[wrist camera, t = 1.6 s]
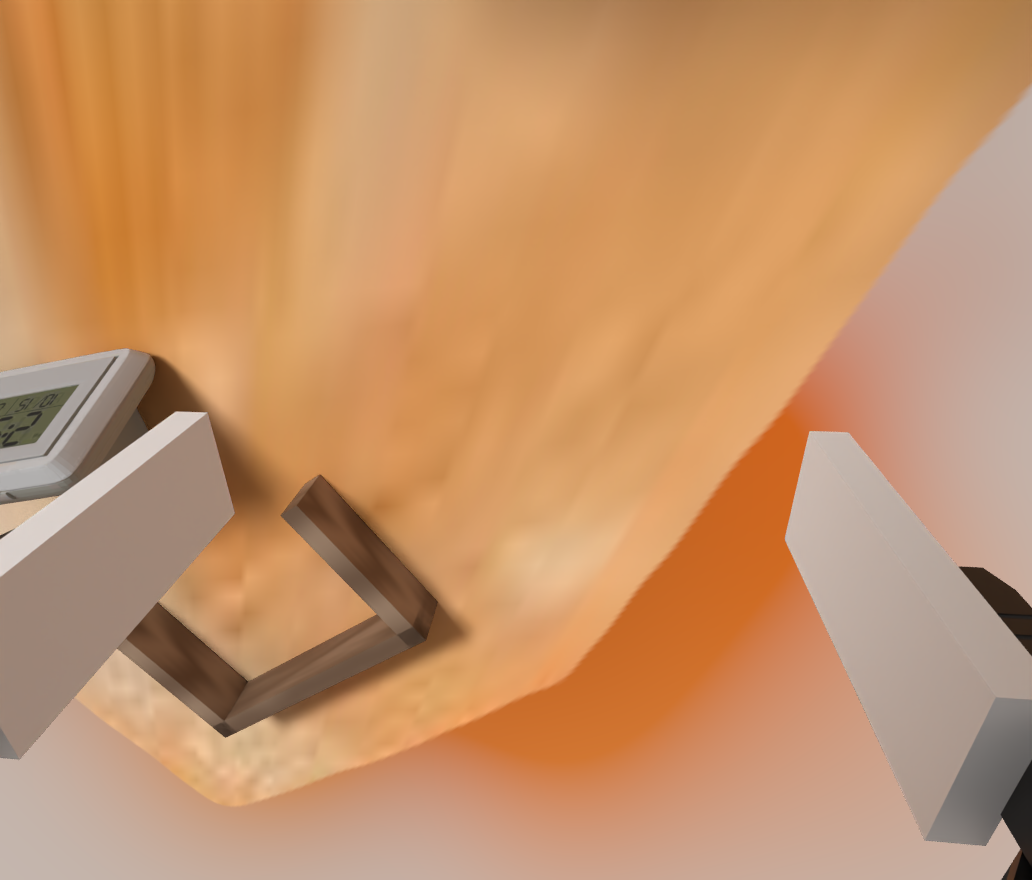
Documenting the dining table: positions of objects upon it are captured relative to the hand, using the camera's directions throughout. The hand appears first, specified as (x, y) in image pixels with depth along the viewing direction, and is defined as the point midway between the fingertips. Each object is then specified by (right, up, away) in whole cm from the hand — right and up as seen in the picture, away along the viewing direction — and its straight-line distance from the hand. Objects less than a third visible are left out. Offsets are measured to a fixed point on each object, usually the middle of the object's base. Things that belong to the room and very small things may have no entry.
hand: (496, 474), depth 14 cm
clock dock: (-19, -11, +36) cm, 42 cm away
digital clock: (-30, +4, +29) cm, 42 cm away
